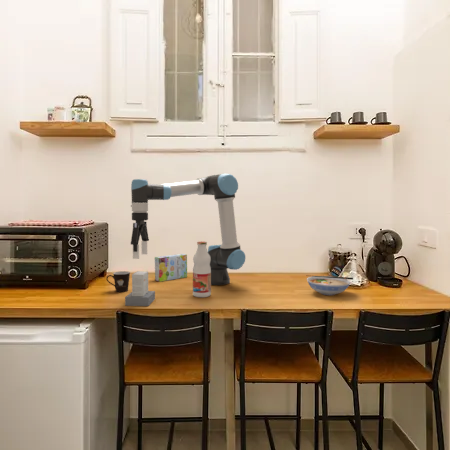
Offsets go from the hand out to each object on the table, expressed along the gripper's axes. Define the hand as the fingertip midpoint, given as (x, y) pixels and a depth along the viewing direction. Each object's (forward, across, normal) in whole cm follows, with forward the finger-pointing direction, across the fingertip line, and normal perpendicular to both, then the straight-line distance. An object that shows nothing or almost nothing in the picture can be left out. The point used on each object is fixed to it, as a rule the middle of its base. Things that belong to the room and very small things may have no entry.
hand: (140, 256), depth 165 cm
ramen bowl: (+23, -23, +95) cm, 100 cm away
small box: (+18, +1, 0) cm, 19 cm away
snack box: (+23, -53, +4) cm, 58 cm away
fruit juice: (+23, -15, +28) cm, 39 cm away
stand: (+22, 0, 0) cm, 22 cm away
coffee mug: (+22, -21, -18) cm, 36 cm away
